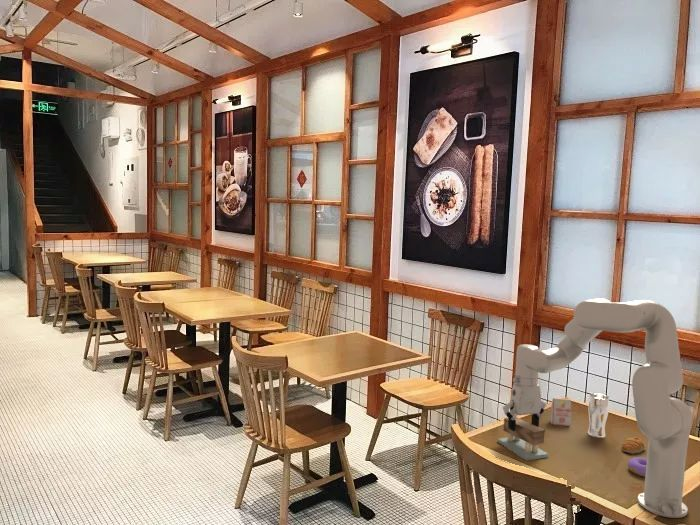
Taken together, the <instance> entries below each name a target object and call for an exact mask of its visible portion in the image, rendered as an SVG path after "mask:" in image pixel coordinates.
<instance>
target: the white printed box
mask: <svg viewBox="0 0 700 525" xmlns="http://www.w3.org/2000/svg"><path fill="white" fill-rule="evenodd" d="M550 407H551V408H550V423H551V425H552V424H554V425H555V426H563V427H571V420H572V400H571V399H564V398H552V401H551V406H550ZM554 425H553V426H554Z"/></svg>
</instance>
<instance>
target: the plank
mask: <svg viewBox="0 0 700 525" xmlns="http://www.w3.org/2000/svg"><path fill="white" fill-rule="evenodd" d="M514 420H516V427H515V431H512V430H510V429H509V428H508V417H504V419H503V429H502V430H503V432H506V433H507V434H508V433H509V434H512V435H514V436H516V437H518V438H520V439H522V440H524V441H526V442H528V443H530V444H532V445H537V444H538V445H540V444H543V443H544V442H545V429H543V428H541V427H537V426H535V425H533V424H531V422H528V421H526V420H523V419H521V418H520V417H518V416H516V418H515V419H514ZM514 436H513V437H514Z"/></svg>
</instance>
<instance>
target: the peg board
mask: <svg viewBox="0 0 700 525" xmlns="http://www.w3.org/2000/svg"><path fill="white" fill-rule="evenodd" d="M497 442H498V443H499V444H500V443H501V444H500V445H502V446H503V445H504V447H505V448H506V447H507V448H506V449H508V450H509V449H510V450H509V451H510V452H512V451H513V453H514V454H515V453H516V454H515V455H517V456H518V457H519V458H522V459H523V460H524V459H525V460H524V461H533V460H539V459H546V458H549V453H547V452H546V451H544V450H542V449H541V448H539V444H537V445H532V444H530V443H528V442H526V441H524V440H522V439H520V438H518V437H516V436H514V435H512V434H509V433H507V437H501V438H497Z"/></svg>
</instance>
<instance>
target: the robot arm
mask: <svg viewBox="0 0 700 525" xmlns="http://www.w3.org/2000/svg"><path fill="white" fill-rule="evenodd" d="M641 330H643V331H644V332H645V337H644V338H645V339H644V351H645V360H646V361H645V362H646V363H645V364H642V365H641V366H639V367H637V369H636V370H635V372H634V373H633V376H632V380H631V382H632V383H631V386H632V388H631V390H632V395H633V396H632V397H633V404H634V405H633V406H634V413H635V419H636V423H637V426H638V429H639V430H640V431H641V433H642V434H643V435H644V436H645V437H646V438H648V444H647V455H646V458H647V464H646V476H645V477H644V490H643V492H641V493H639V494H638V495H637V498H636V499H637V500H636V501H637V503H638V504H640V505H641V506H643V507H644V508H646V509H647V510H649V511H650V513H651V512H652V514H654V515H657V516H660V517H665V518H671V519H678V518H679V519H680V518H684V517H686V516H687V515H688V510H689V509H688V506H687V505H686V504H685V503H684V502H683V494H684V493H683V492H684V482H685V470H686V460H687V452H688V442H689V439H690V435H691V429H692V426H693V415H692V411H691V409H690V407H689V406H688V405H687V403H686V402H684V401H683V400H681V399H679V398H675V397H670V395H672V394H674V393H676V392H678V391H679V390H680V389H681V388H683V387H682V386H683V384H684V376H683V375H684V374H683V368H682V360H681V352H680V347H679V339H678V330H677V324H676V320H675V319H674V316H673V315H672V313H671V311H669V309H668V308H666V307H665V306H664V305H662V304H660V303H659V302H656V301H653V300H648V299H638V300H633V301H626V302H611V300H608V299H606V298H601V297H600V298H594V299H586V300H582V301H581V302H579V303H578V304H577V305H576V307H575V308H574V310H573V318H572V319H571V320H570V321H568V323H566V325H565V326H564V334H565V337H564V338H563V339H562V340H561V341H560V342H559V343H557V344H556V345H555V346H553V347H549V348H546V349H540V348H539V347H538V346H536V345H533V344H527V343H526V344H524V343H522V344H520V345H518V346H517V348H516V356H515V358H516V361H515V362H516V363H515V374H514V375H515V377H514V378H512V382H513V385H512V388H511V393H510V398H509V400H510V401H509V402H508V403H506V404H504V405H503V406H502V410H503V413H504V414H505V416H506V418H508V428H509V429H510V430H512V431H515V427H516V420H514V419H515V418H516V417H518V416H527V415H531V422H530V424H533V425H535V426H537V427H539V426H540V418H541V417H542V414H543V413H544V411H545V409H546V406H547V403H546V402H544V401H543V400H542V394H541V393H542V392H541V387H540V384H538V382H539V374H548V373H552V372H555V371H559V370H562V369H565V368H566V367H567V366H569V365H570V364H571V363H572V362H574V361H575V360H576V359H577V358H579V356H580V355H581V354H582V353H583V351H584V350H585V349H586V346H587V345H588V344H589V343H590V342H592V341H593V340H594V339H595V338H596V337H597V336H599V334H600V333H602V332H603V331H604V332H613V333H634V332H637V331H641ZM539 428H540V427H539ZM640 505H639V506H640ZM641 506H640V507H641ZM643 507H642V508H643ZM644 508H643V509H644ZM647 510H646V511H647ZM649 511H648V512H649Z"/></svg>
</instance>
